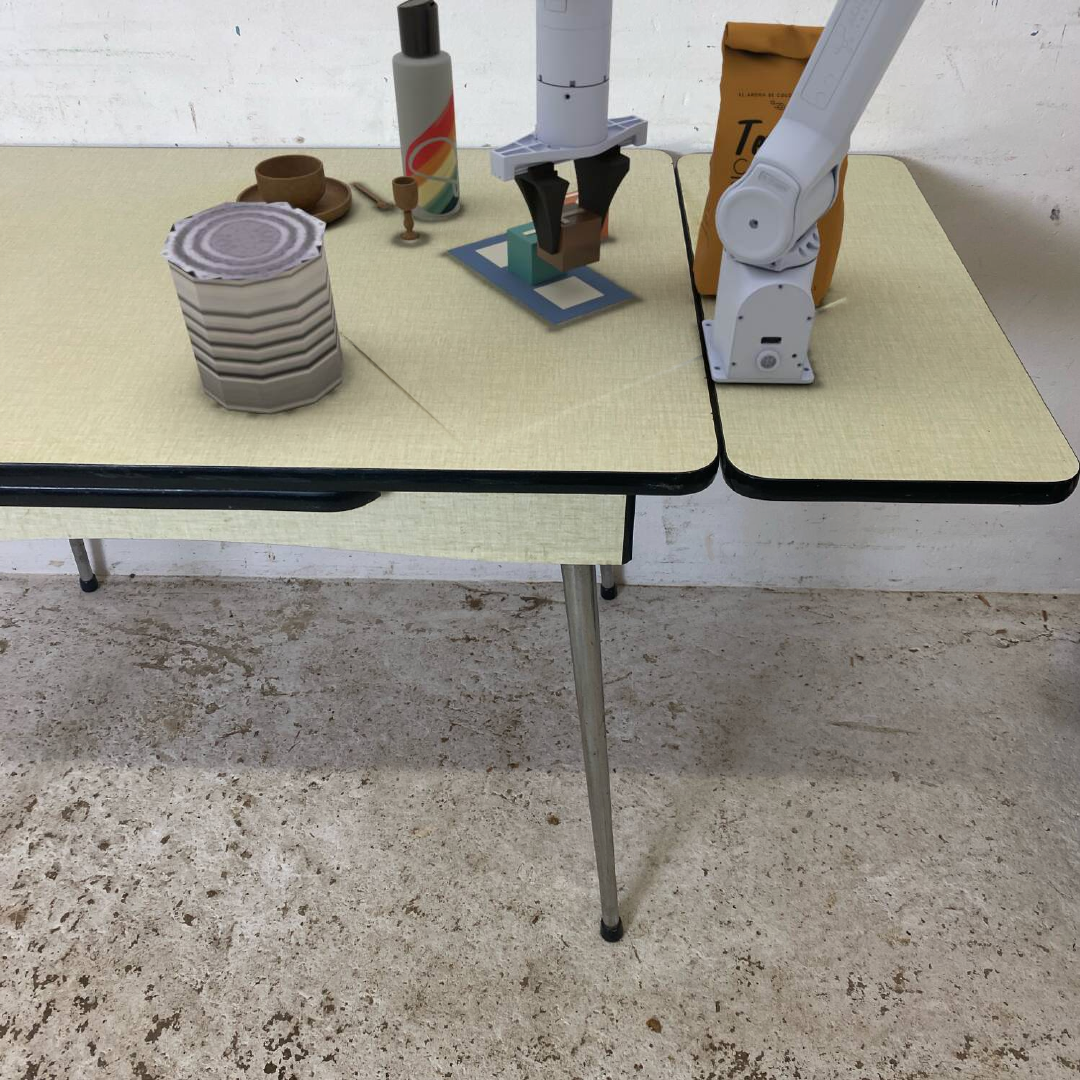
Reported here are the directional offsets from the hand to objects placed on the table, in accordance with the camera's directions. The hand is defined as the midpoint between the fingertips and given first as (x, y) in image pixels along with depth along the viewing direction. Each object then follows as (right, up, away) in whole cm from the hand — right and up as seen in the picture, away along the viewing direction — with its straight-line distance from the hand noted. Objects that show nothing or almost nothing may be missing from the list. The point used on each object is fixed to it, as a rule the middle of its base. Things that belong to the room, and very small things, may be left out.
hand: (569, 243), depth 83 cm
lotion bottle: (-14, +9, +18) cm, 24 cm away
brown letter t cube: (0, -1, +1) cm, 1 cm away
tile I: (-3, -1, +6) cm, 7 cm away
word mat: (-3, -1, +6) cm, 7 cm away
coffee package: (+18, -3, +5) cm, 18 cm away
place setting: (-26, +6, +15) cm, 31 cm away
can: (-24, -13, -6) cm, 28 cm away
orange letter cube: (+1, +5, +13) cm, 14 cm away
